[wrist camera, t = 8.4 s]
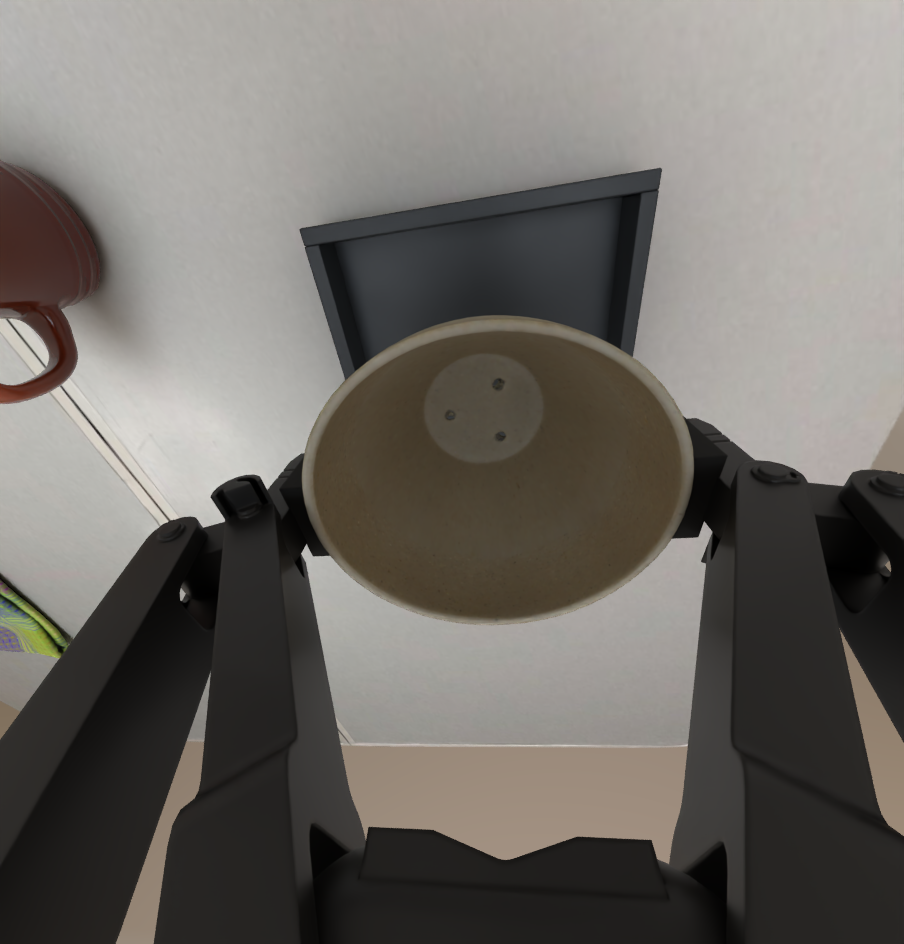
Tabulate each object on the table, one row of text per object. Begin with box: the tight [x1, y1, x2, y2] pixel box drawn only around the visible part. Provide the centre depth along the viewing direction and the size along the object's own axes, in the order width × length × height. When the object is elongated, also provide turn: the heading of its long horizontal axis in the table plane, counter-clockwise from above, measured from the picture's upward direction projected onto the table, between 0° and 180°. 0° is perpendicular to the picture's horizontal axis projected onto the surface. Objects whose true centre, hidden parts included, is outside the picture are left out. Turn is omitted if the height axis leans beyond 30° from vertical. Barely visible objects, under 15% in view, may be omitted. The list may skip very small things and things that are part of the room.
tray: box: [300, 168, 662, 436], centre depth 26 cm, size 30×18×3 cm, turn 7°
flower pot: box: [302, 315, 694, 625], centre depth 12 cm, size 10×10×7 cm
